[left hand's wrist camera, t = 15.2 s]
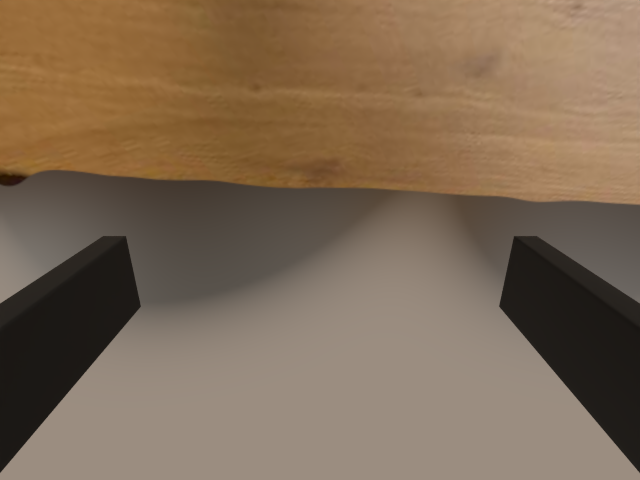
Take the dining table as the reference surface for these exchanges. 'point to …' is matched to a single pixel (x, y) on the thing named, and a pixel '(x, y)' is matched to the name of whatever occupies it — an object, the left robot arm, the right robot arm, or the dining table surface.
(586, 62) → the dining table surface
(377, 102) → the dining table surface
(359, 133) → the dining table surface
